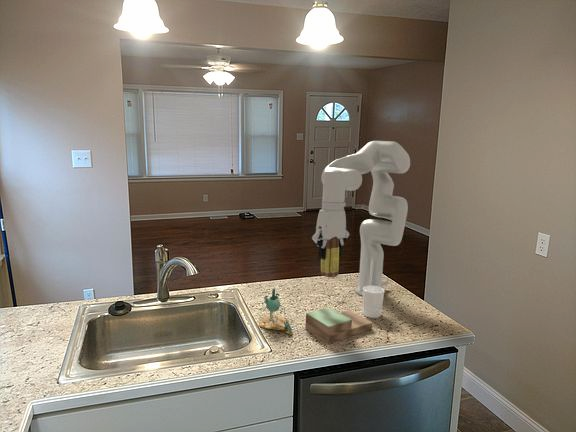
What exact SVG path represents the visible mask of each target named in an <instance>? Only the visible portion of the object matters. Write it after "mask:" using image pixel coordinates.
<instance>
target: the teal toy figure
mask: <svg viewBox="0 0 576 432" xmlns="http://www.w3.org/2000/svg"><path fill="white" fill-rule="evenodd" d="M271 292H272V293H271V296H270V297H269V298H268V295H266V296H264V298H263V299H264V302H262V303H261V305H264V303H265V304H266V305H265V306H263V309H262V308H261V307H260V308H259V310H260V312H261V311H263V312H264V311H265V310H266V309H267V310H268V311H269V315H263V316H261V317H260V318H259V319H258V321H259V323H258V325H259V326H260V327H262V328H264V329H267V330H270V329H271V330H277V331H280V330H282V333H285V334H287V335H290V336H293V335H294V333H293V331H292V327H291V323H289V322H290V321H288V318H287V319H285V318H284V317H280V316H275V315H273V314H274V313H275V312H277V311H278V310H280V308H281V310H280V312H279V313H280V315H281V314H282V312H284V315H286V309H285V306H284V305H282V304H281V301H280V299H279V297H280V293H276V288H274V287H273V288H272V291H271Z"/></svg>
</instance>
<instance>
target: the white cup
mask: <svg viewBox="0 0 576 432" xmlns="http://www.w3.org/2000/svg"><path fill="white" fill-rule="evenodd" d="M384 290H385V289H384V288H381V287H378V286H365V287H363V295H362V314H363V316H364V317H367V318H370V319H378V318H379V317H381V316H382V310H383V309H382V308H383V304H384V296H385V293H384Z"/></svg>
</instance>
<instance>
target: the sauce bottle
mask: <svg viewBox="0 0 576 432" xmlns="http://www.w3.org/2000/svg"><path fill="white" fill-rule="evenodd" d="M322 243H323V240H322ZM325 248H326V259H325V260H323V259H321V258H320V275H321V276H323V277H325V278H335V277H338V276H339V266H340V265H339V263H340V257H339V239H338V238H337V237H333V238H331V239H330V240H327V243H326V245H325Z"/></svg>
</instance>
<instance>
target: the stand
mask: <svg viewBox="0 0 576 432" xmlns="http://www.w3.org/2000/svg"><path fill="white" fill-rule="evenodd" d="M373 323H374V322H373V321H371V320H368V319H366V318H365V317H364V316H361V315H360V314H357V313H355V312H353V311H351V310H345V311H342V312H338V311H337V310H335V309H333V308H332V307H329V306H327V307H324V308H319V309H316V310H313V311H308V312H306V313H305V326H304V327H305V331H307V332H309V333H310V334H312V335H314V336H315V337H316V338H318V339H320V340H321V341H323V342H324V343H326V344H327V345H328V344H332V343H335V342H338V341H341V340H344V339H347V338H350V337H353V336H356V335H359V334H363V333H365V332H368V331H371V330H373Z"/></svg>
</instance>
